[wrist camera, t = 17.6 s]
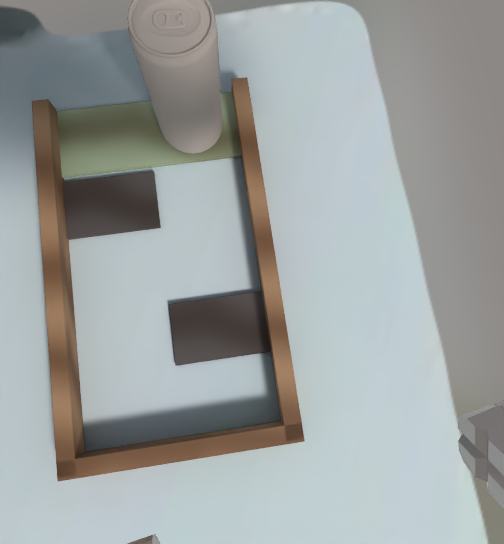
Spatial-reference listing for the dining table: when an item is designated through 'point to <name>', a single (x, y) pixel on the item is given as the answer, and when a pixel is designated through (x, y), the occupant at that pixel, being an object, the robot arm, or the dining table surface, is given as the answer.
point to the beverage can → (180, 68)
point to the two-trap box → (184, 316)
